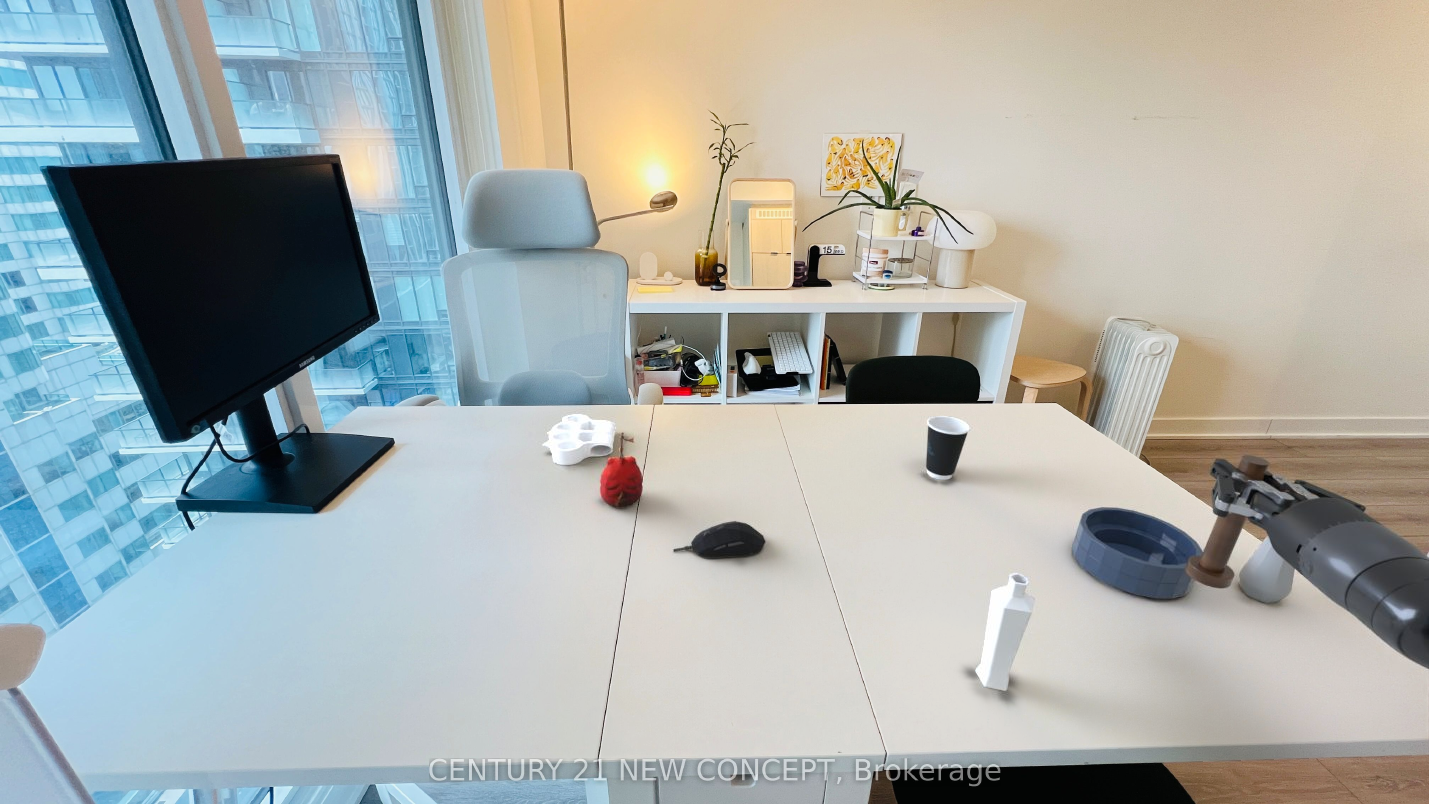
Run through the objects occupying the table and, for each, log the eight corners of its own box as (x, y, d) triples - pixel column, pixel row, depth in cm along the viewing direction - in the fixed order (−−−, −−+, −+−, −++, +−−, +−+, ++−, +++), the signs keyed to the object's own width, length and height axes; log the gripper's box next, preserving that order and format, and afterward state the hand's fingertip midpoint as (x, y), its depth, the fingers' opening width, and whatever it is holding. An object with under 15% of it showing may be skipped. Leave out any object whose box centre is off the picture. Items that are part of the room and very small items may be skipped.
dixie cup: (968, 476, 119) (979, 426, 114) (944, 487, 114) (954, 436, 110) (934, 460, 125) (943, 412, 120) (910, 470, 120) (918, 421, 116)
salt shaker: (1295, 607, 85) (1334, 532, 80) (1256, 607, 85) (1292, 531, 80) (1261, 580, 91) (1294, 508, 86) (1223, 580, 91) (1255, 507, 86)
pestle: (1229, 574, 73) (1279, 458, 66) (1231, 594, 69) (1284, 473, 63) (1185, 560, 75) (1229, 447, 69) (1184, 578, 72) (1231, 461, 66)
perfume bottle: (993, 698, 70) (1021, 597, 64) (966, 670, 74) (990, 572, 68) (1022, 687, 72) (1052, 587, 66) (994, 660, 75) (1020, 563, 70)
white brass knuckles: (611, 464, 121) (537, 466, 119) (617, 426, 137) (552, 427, 136) (610, 449, 119) (535, 451, 118) (616, 413, 136) (551, 414, 135)
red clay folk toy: (640, 488, 112) (637, 416, 106) (646, 508, 106) (643, 432, 100) (599, 493, 110) (594, 419, 105) (602, 514, 104) (598, 437, 98)
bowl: (1190, 562, 95) (1203, 530, 92) (1188, 617, 83) (1203, 583, 81) (1079, 526, 103) (1088, 496, 101) (1063, 572, 92) (1073, 539, 89)
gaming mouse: (671, 539, 98) (671, 518, 96) (759, 532, 100) (760, 512, 98) (675, 563, 92) (675, 542, 90) (768, 555, 94) (770, 534, 93)
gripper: (1461, 531, 52) (1310, 443, 67) (1281, 515, 53) (1175, 432, 69) (1420, 600, 54) (1284, 500, 70) (1250, 582, 56) (1155, 488, 72)
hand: (1230, 467), depth 70 cm, fingers closed on pestle, 2 cm apart
